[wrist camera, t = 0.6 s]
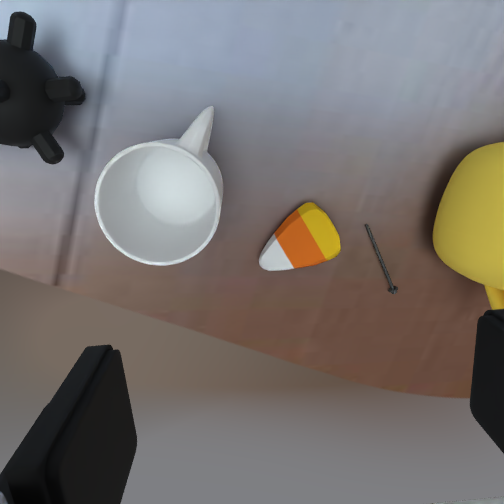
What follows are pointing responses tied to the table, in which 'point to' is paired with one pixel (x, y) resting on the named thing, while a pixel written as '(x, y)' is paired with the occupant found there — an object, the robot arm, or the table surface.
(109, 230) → the mug
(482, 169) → the teapot
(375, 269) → the table surface
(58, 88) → the toy ball
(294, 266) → the candy corn
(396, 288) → the screw
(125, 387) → the robot arm
